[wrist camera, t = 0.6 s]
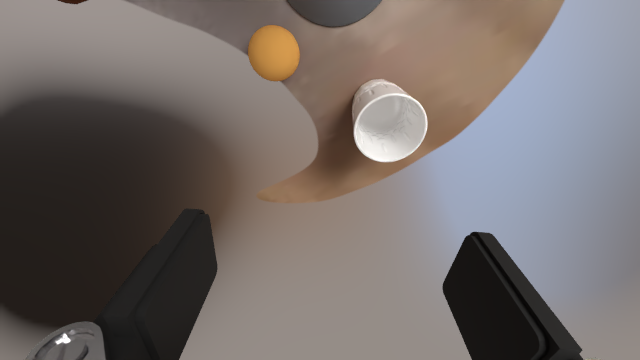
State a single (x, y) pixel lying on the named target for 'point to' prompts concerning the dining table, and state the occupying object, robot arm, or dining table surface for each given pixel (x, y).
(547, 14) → the dining table surface
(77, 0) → the potato
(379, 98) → the white cup
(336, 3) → the disc
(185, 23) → the dining table surface
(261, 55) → the ball
